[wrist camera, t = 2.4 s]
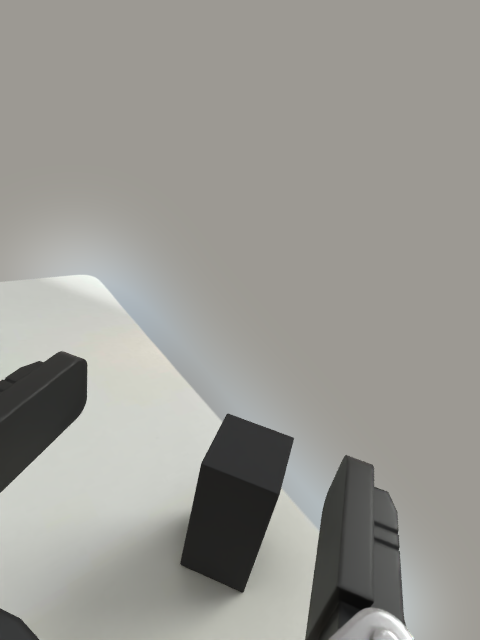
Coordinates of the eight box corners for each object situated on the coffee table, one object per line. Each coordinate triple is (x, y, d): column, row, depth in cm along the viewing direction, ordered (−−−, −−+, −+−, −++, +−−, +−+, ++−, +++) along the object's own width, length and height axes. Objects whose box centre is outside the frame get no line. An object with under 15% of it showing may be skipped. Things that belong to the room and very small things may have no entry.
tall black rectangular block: (260, 532, 33) (294, 437, 28) (243, 593, 29) (279, 494, 23) (204, 509, 34) (227, 412, 29) (179, 564, 30) (201, 463, 24)
